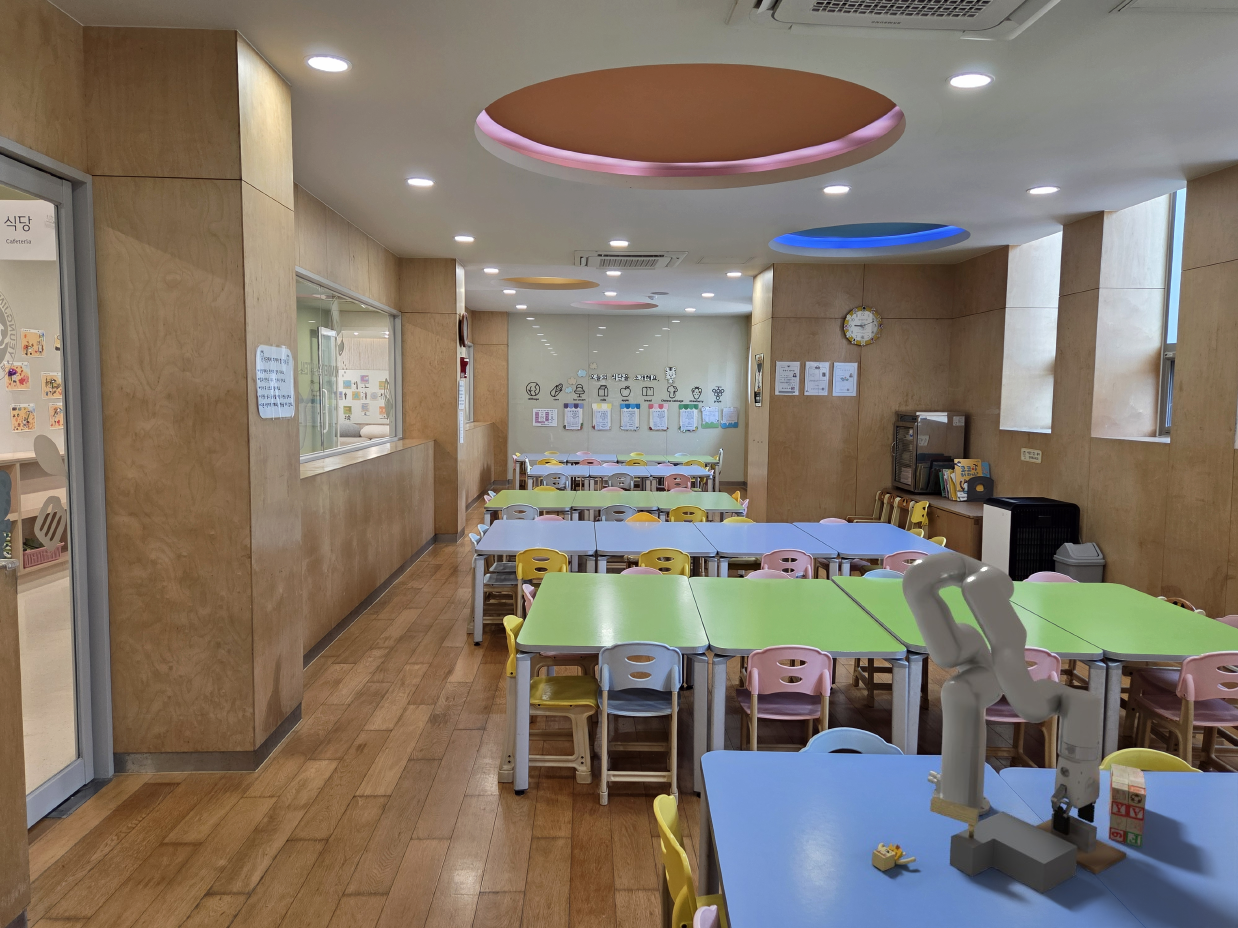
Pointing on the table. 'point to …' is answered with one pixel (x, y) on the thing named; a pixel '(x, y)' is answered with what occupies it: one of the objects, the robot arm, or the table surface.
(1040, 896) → the table surface
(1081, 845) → the walnut lid
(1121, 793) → the stack of blocks
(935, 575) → the robot arm
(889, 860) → the character toy
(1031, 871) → the grey l-shaped block
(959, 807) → the brass bar
